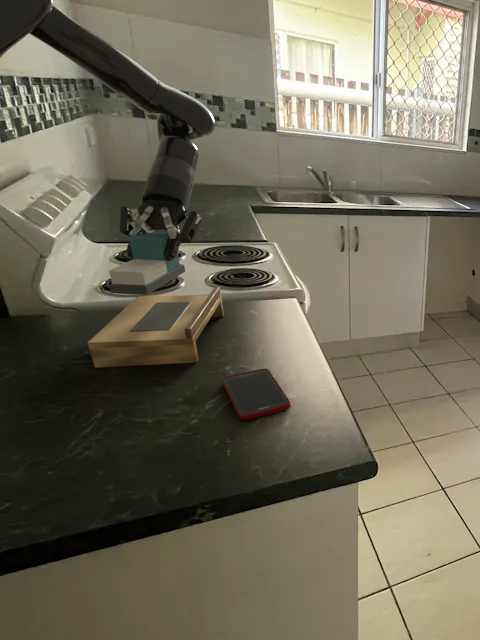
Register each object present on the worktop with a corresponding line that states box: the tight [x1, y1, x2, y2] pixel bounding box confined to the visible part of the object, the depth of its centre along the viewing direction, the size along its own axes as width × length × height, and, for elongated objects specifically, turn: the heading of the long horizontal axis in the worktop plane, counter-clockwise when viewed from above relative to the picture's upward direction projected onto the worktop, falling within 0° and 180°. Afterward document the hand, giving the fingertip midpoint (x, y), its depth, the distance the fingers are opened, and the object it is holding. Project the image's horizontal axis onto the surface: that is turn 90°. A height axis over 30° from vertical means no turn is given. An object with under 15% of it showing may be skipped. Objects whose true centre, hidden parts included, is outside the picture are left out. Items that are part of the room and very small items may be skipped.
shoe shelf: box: [87, 286, 225, 369], centre depth 96 cm, size 16×24×7 cm, turn 18°
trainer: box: [108, 232, 186, 295], centre depth 89 cm, size 14×6×8 cm, turn 8°
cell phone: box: [221, 368, 292, 421], centre depth 81 cm, size 8×15×1 cm, turn 39°
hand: (150, 257), depth 91 cm, fingers closed on trainer, 5 cm apart
